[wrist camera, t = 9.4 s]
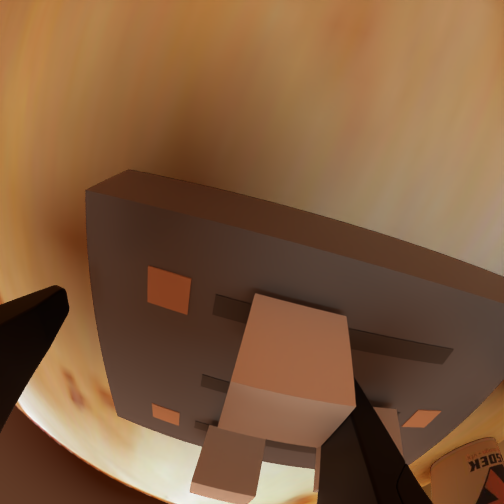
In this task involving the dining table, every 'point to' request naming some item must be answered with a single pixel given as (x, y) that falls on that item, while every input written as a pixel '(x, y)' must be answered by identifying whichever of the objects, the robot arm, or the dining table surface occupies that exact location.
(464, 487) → the coffee cup
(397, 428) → the slider
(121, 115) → the dining table surface
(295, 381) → the slider
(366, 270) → the switch unit
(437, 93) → the dining table surface
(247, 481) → the slider
